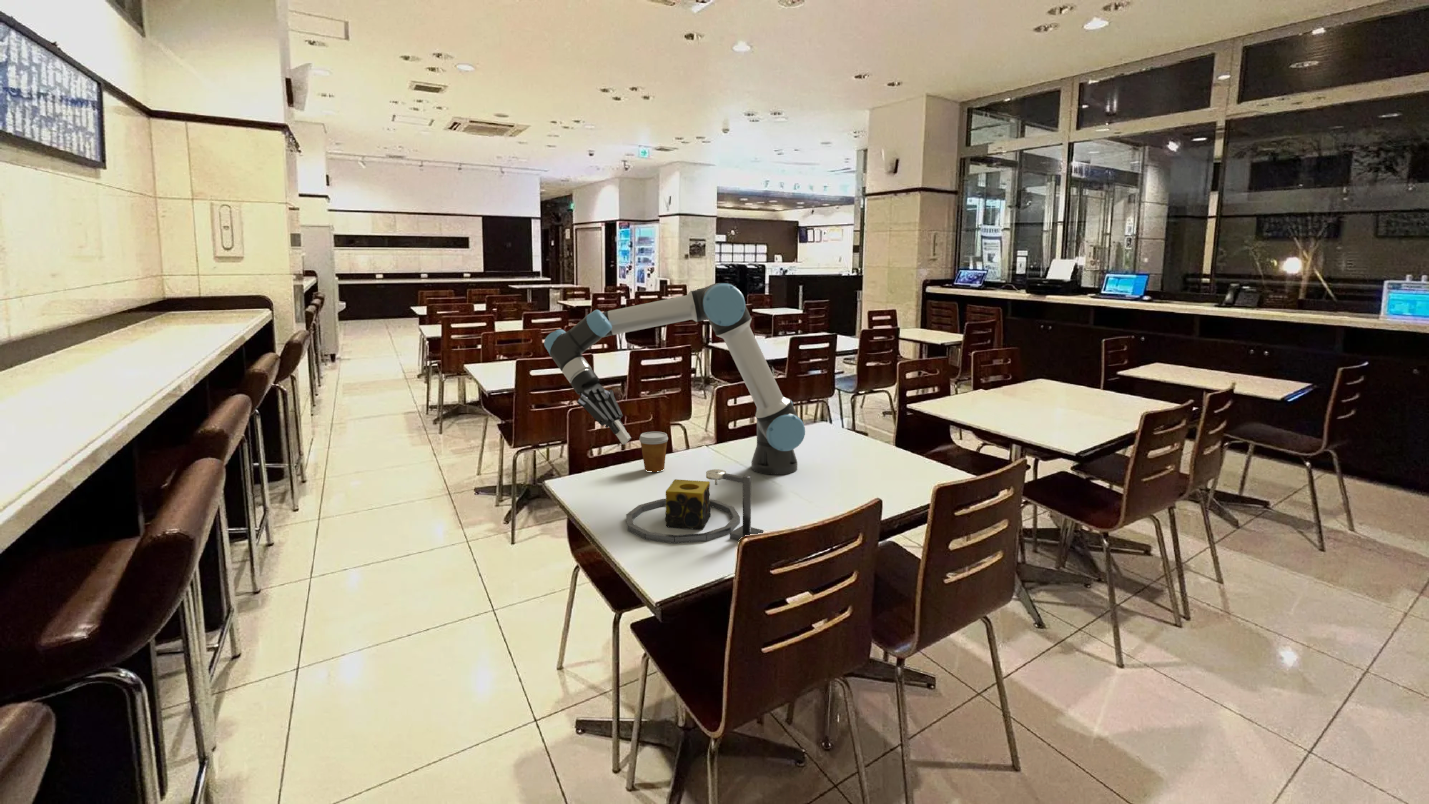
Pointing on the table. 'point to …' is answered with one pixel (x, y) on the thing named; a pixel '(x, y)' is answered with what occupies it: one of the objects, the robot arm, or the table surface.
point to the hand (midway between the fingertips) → (626, 441)
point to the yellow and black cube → (687, 504)
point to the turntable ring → (681, 538)
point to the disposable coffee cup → (654, 450)
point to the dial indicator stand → (746, 481)
